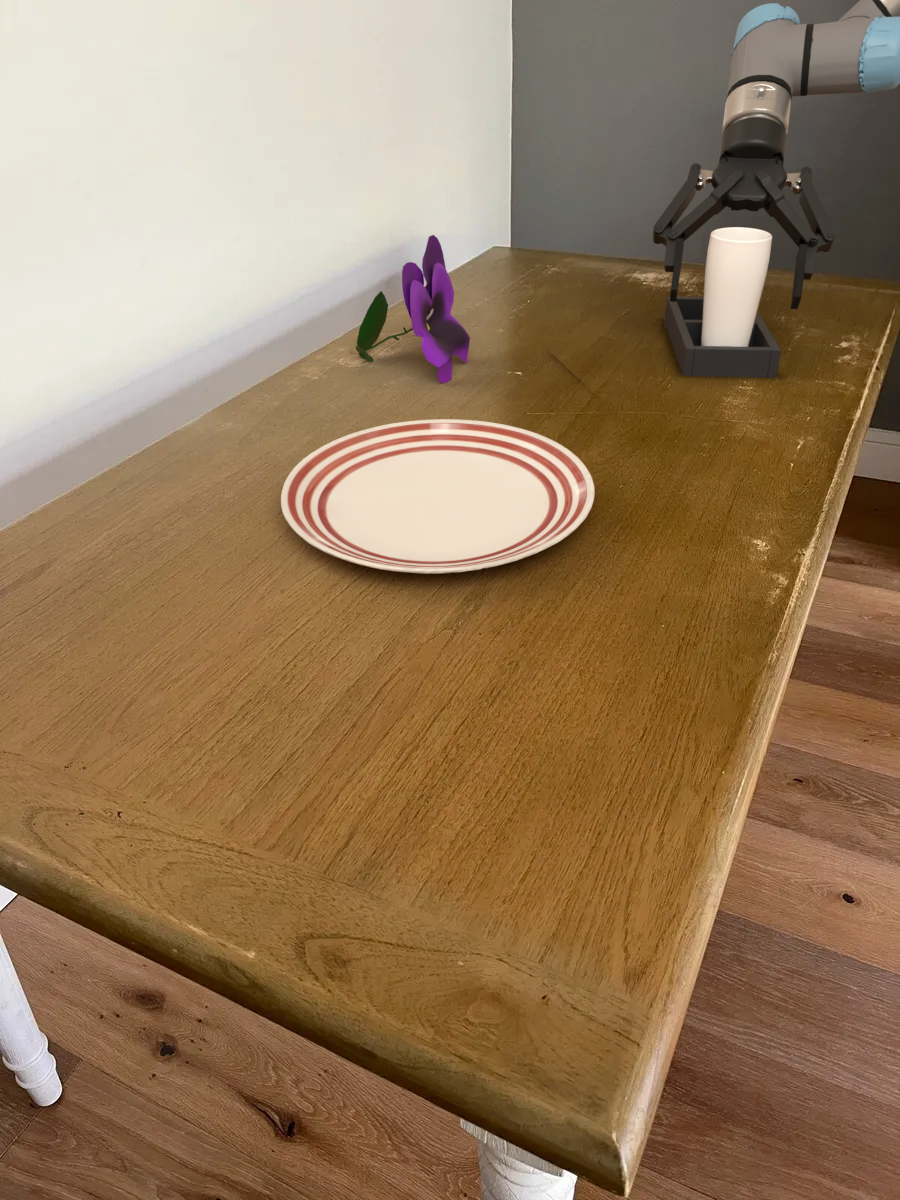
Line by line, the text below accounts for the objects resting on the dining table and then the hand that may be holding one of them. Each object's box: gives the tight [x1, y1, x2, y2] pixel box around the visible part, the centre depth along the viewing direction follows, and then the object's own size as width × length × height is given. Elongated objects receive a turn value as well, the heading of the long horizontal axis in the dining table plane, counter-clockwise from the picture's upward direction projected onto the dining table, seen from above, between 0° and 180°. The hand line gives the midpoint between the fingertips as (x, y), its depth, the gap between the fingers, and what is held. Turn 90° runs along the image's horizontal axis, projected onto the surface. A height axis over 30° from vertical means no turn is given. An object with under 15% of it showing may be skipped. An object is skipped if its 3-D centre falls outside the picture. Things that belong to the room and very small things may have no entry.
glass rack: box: [663, 296, 782, 378], centre depth 117 cm, size 10×20×5 cm, turn 175°
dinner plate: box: [280, 418, 596, 574], centre depth 85 cm, size 27×27×3 cm
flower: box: [355, 234, 471, 384], centre depth 114 cm, size 15×15×14 cm
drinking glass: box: [701, 226, 773, 347], centre depth 110 cm, size 7×7×15 cm
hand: (733, 299), depth 110 cm, fingers open, 13 cm apart
